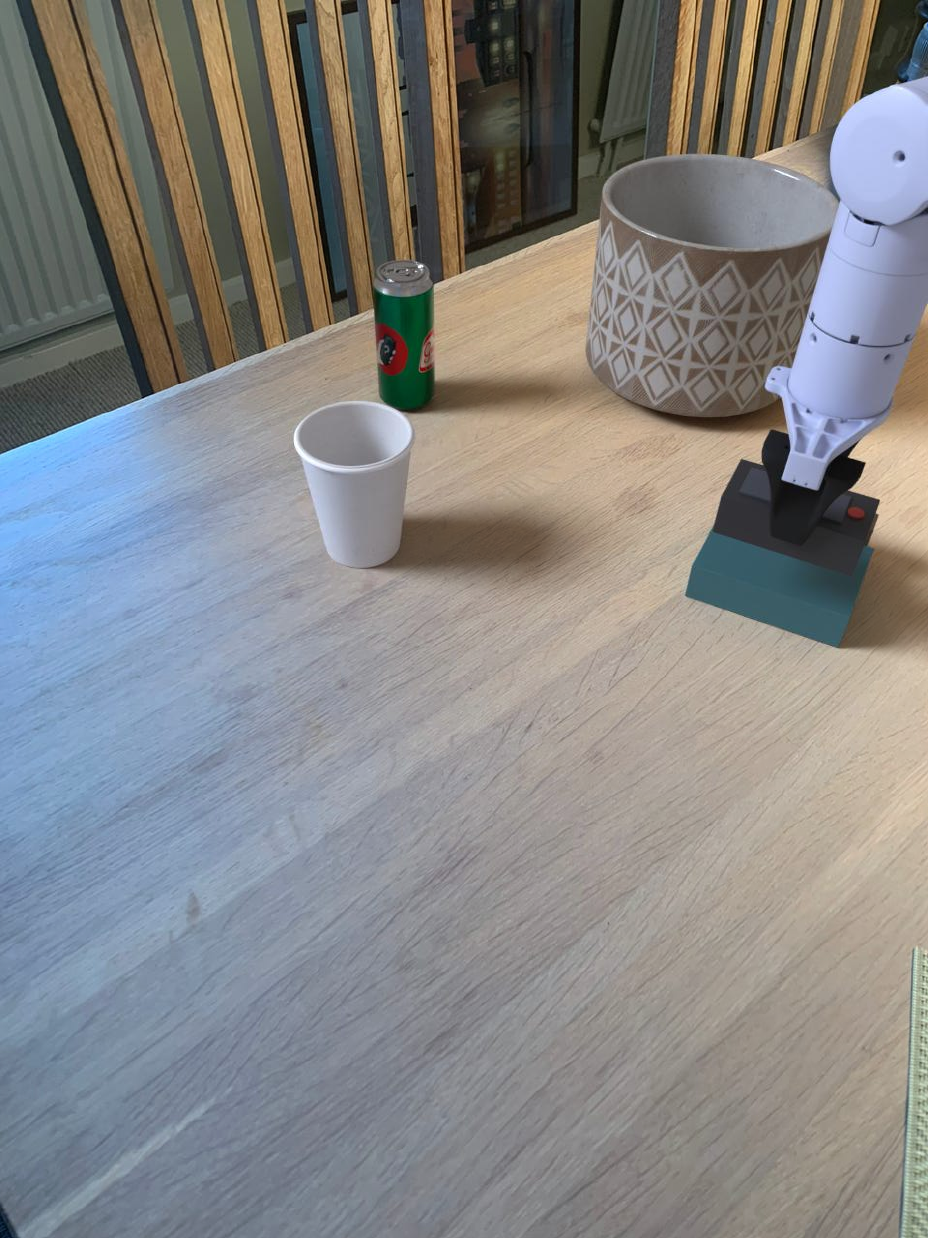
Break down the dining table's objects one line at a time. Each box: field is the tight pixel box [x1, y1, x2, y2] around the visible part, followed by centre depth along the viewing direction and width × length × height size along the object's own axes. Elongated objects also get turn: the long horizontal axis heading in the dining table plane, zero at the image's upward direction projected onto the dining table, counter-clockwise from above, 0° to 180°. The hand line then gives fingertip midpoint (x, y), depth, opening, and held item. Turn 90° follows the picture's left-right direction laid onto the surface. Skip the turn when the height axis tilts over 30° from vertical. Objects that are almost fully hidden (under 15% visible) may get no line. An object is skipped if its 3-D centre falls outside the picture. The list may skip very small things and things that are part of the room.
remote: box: [712, 458, 881, 576], centre depth 63 cm, size 9×4×3 cm, turn 63°
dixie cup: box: [293, 400, 416, 569], centre depth 72 cm, size 8×8×10 cm
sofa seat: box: [684, 513, 879, 649], centre depth 71 cm, size 10×11×4 cm
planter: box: [585, 153, 840, 418], centre depth 87 cm, size 19×19×16 cm
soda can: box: [372, 259, 436, 411], centre depth 85 cm, size 5×5×12 cm
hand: (797, 514), depth 63 cm, fingers closed on remote, 4 cm apart
